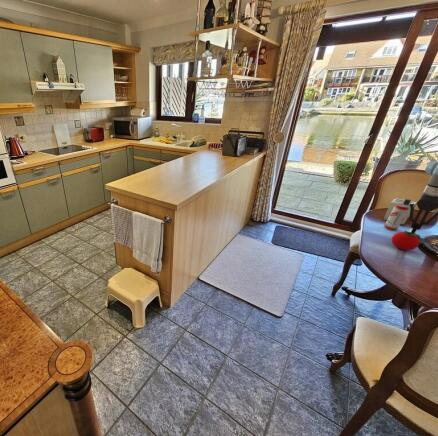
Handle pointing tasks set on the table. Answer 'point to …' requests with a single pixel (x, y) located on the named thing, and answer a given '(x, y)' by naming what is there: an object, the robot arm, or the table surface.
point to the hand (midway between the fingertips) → (412, 233)
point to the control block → (420, 239)
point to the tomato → (405, 240)
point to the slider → (407, 201)
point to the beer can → (396, 217)
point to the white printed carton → (393, 204)
